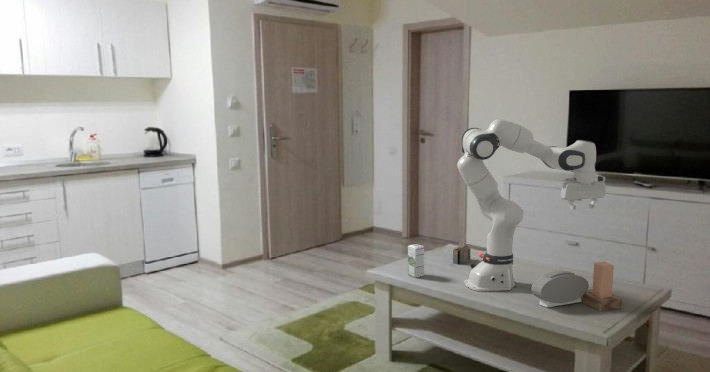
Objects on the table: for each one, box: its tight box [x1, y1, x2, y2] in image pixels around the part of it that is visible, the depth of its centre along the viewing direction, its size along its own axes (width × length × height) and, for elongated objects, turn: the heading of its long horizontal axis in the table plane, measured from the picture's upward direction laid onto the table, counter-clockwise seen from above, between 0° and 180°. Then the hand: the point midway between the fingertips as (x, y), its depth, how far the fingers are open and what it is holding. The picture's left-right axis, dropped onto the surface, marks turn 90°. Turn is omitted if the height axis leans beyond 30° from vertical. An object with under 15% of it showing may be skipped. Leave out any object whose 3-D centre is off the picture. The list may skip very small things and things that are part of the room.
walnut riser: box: [582, 291, 623, 312], centre depth 216 cm, size 10×10×4 cm
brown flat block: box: [452, 245, 471, 265], centre depth 277 cm, size 11×3×10 cm, turn 133°
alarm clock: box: [531, 270, 589, 308], centre depth 218 cm, size 23×6×13 cm, turn 109°
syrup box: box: [407, 243, 425, 279], centre depth 255 cm, size 6×6×14 cm
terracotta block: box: [592, 261, 615, 298], centre depth 214 cm, size 5×5×13 cm
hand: (582, 208), depth 237 cm, fingers open, 8 cm apart
